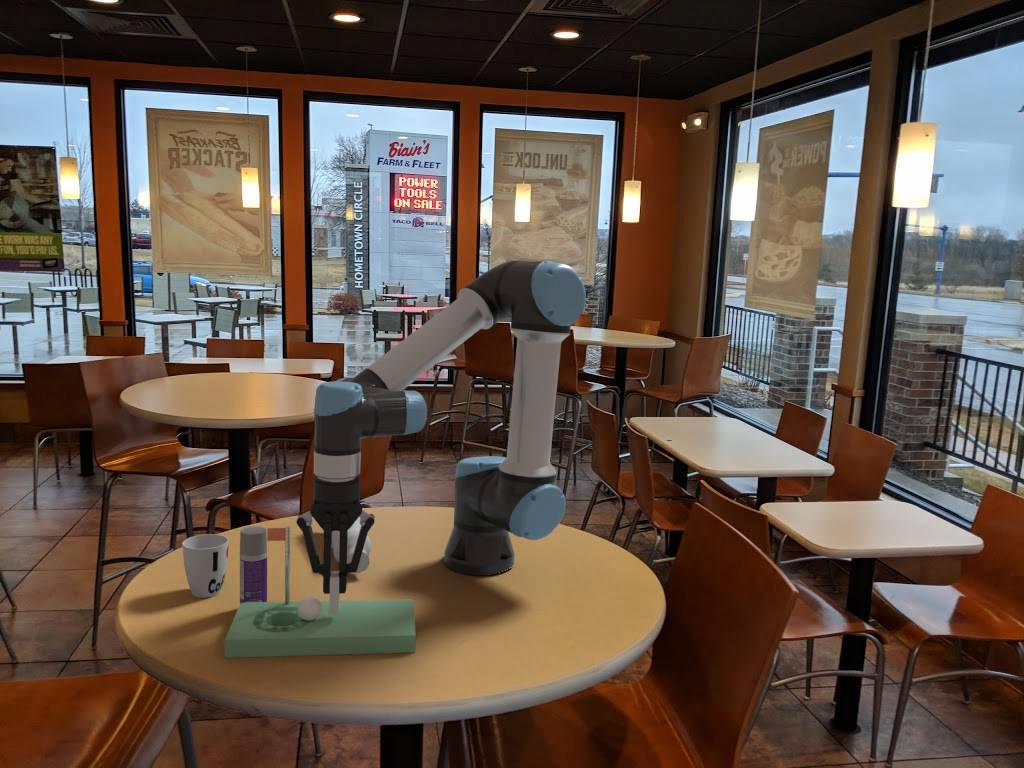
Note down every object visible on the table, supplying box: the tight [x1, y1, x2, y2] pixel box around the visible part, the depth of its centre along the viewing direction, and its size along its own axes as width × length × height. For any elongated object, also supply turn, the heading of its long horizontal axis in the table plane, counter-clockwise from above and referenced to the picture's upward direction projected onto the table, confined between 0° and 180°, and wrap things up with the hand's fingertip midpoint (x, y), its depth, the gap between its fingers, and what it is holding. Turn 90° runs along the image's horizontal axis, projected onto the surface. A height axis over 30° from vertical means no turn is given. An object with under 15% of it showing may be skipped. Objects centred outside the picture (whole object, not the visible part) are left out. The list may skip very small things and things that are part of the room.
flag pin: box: [266, 525, 291, 605], centre depth 138 cm, size 4×1×14 cm, turn 99°
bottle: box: [322, 517, 372, 574], centre depth 172 cm, size 9×9×30 cm
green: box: [224, 598, 417, 659], centre depth 134 cm, size 30×14×3 cm, turn 99°
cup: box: [181, 533, 230, 599], centre depth 148 cm, size 8×8×10 cm
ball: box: [298, 595, 322, 621], centre depth 133 cm, size 4×4×4 cm
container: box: [239, 525, 268, 604], centre depth 141 cm, size 5×5×15 cm
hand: (334, 610), depth 134 cm, fingers closed
